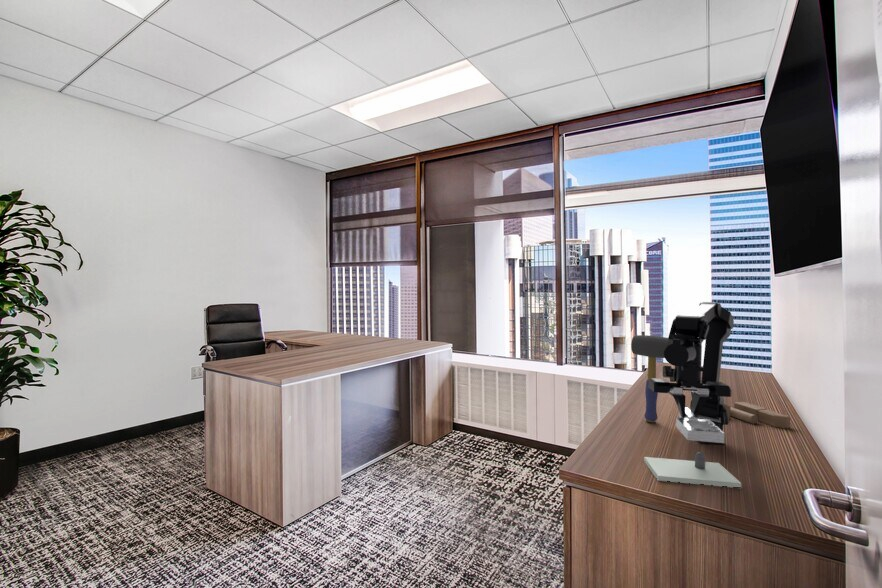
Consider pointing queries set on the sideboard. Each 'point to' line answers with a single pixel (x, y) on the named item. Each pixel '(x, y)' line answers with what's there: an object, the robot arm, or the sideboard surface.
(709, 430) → the steel link
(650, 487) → the sideboard surface
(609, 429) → the sideboard surface
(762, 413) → the wooden block set
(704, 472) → the keeper board
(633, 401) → the sideboard surface
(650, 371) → the rubber mallet
